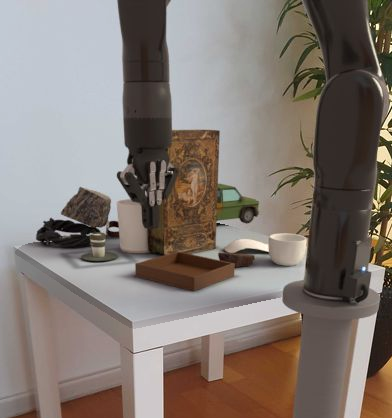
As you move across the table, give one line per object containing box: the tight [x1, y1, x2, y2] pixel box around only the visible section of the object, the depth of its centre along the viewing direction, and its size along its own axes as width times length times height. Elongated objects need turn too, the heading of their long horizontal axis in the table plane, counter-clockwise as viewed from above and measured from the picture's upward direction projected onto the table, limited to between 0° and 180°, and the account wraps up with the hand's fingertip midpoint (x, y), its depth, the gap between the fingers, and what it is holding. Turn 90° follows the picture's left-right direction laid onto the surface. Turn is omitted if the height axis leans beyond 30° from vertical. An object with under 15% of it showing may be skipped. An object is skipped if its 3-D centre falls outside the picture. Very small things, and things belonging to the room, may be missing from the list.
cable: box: [35, 217, 102, 248], centre depth 130 cm, size 17×14×4 cm
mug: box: [116, 198, 150, 254], centre depth 123 cm, size 11×9×10 cm
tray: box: [134, 252, 236, 292], centre depth 105 cm, size 14×12×2 cm
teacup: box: [267, 232, 308, 267], centre depth 115 cm, size 10×8×5 cm
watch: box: [105, 220, 120, 239], centre depth 136 cm, size 8×5×4 cm, turn 4°
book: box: [148, 129, 221, 256], centre depth 119 cm, size 16×6×25 cm, turn 132°
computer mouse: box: [224, 238, 269, 254], centre depth 125 cm, size 9×12×3 cm
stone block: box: [60, 186, 112, 229], centre depth 131 cm, size 14×9×8 cm, turn 176°
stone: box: [217, 252, 256, 268], centre depth 113 cm, size 7×7×3 cm
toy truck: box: [217, 183, 260, 224], centre depth 151 cm, size 11×21×10 cm, turn 120°
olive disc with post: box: [80, 232, 119, 262], centre depth 116 cm, size 12×12×5 cm
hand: (151, 227), depth 92 cm, fingers closed
